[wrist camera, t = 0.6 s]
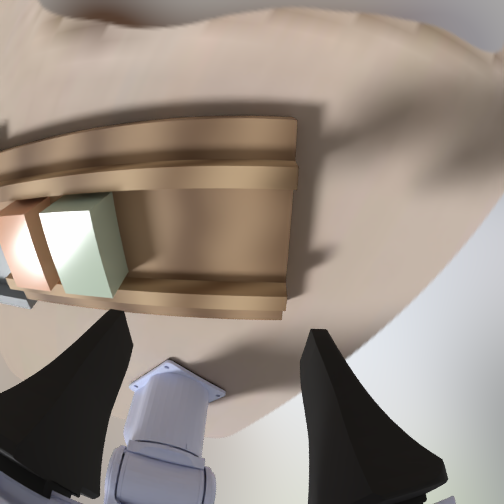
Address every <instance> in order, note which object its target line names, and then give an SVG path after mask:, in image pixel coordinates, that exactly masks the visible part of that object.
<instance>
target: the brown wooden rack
mask: <svg viewBox="0 0 504 504" xmlns="http://www.w3.org/2000/svg"><path fill="white" fill-rule="evenodd" d="M296 138H297V120H296V119H295V118H293V117H278V116H201V117H182V118H169V119H157V120H148V121H139V122H131V123H123V124H116V125H109V126H103V127H97V128H92V129H86V130H81V131H76V132H71V133H66V134H62V135H57V136H53V137H49V138H45V139H41V140H37V141H33V142H29V143H26V144H22V145H19V146H15V147H12V148H9V149H6V150H3V151H0V211H1V210H2V209H4V208H5V207H7V206H8V205H9V204H11V203H12V202H14V201H15V200H23V199H31V198H40V197H49V198H50V203H51V204H52V203H54V202H55V201H56V200H58V199H59V198H61V197H62V196H63V195H71V194H82V193H96V192H111V191H112V194H113V200H114V206H115V211H116V217H117V222H118V227H119V232H120V237H121V241H122V246H123V250H124V255H125V259H126V263H127V267H128V271H129V272H128V273H127V275H126V277H125V278H124V280H123V282H122V283H121V285H120V287H119V289H118V290H117V292H116V294H115V295H114V297H113V298H105V297H94V296H85V295H76V294H67V293H65V290H64V288H63V285H62V283H61V280H59V282H58V283H57V284H56V285H55V287H54V288H53V289H52V291H43V290H35V289H28V288H21V287H17V285H16V283H15V281H14V278H13V276H12V274H11V273H10V274H9V275H8V276H7V277H6V280H7V283H8V285H9V287H10V289H14V290H20V291H24V293H25V295H26V297H27V299H32V300H38V301H44V302H51V303H57V304H64V305H71V306H79V307H86V308H95V309H103V310H110V309H115V310H121V311H124V312H132V313H143V314H154V315H167V316H182V317H199V318H219V319H249V320H282V312H283V311H286V303H287V291H286V272H287V262H288V251H289V239H290V227H291V215H292V201H293V190H297V185H298V171H299V167H298V165H297V163H296V162H295V156H296Z"/></svg>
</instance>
